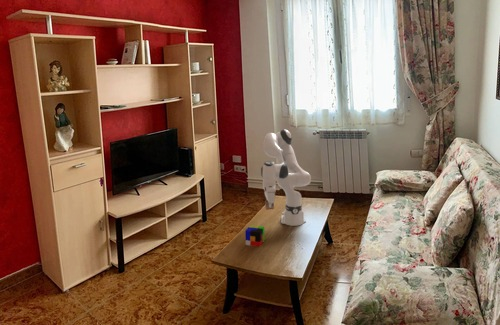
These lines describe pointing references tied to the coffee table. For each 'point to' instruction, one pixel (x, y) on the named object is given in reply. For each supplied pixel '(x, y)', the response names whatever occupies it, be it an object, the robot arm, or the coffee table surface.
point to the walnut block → (268, 205)
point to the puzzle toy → (254, 235)
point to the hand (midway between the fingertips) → (269, 205)
